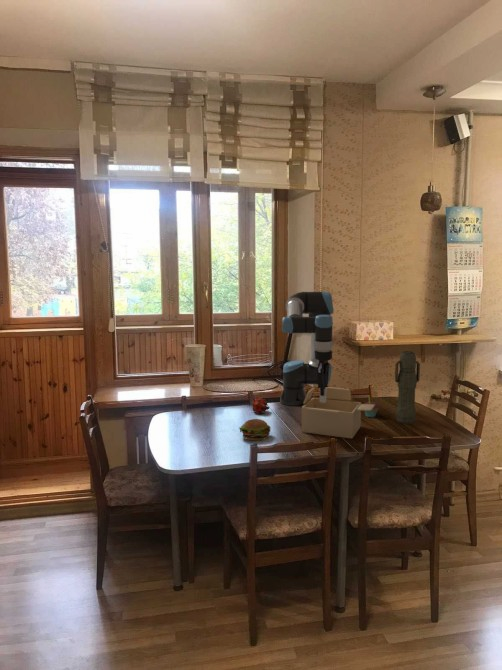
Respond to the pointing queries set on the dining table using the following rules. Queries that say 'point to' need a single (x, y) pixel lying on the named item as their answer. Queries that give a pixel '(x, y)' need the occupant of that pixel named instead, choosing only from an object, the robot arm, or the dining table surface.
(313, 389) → the flap arm end
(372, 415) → the cupcake
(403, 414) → the thermos
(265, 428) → the food
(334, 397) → the flap far
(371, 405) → the flap far end
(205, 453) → the dining table surface
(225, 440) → the dining table surface
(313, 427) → the carton
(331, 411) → the flap near
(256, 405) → the dragon fruit
